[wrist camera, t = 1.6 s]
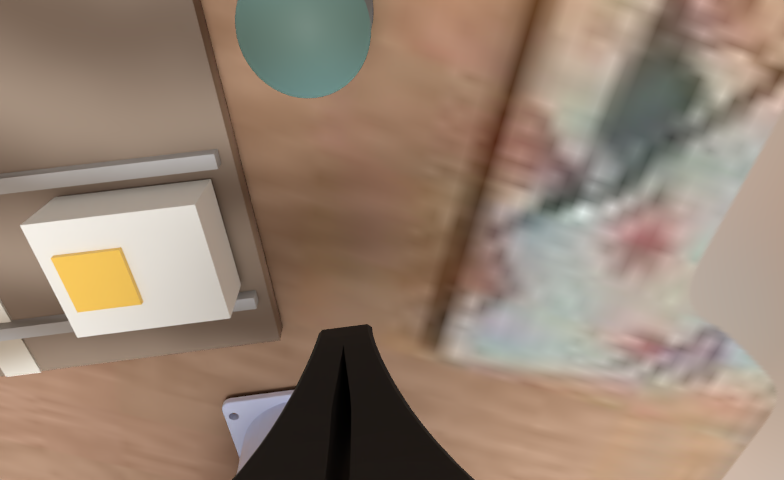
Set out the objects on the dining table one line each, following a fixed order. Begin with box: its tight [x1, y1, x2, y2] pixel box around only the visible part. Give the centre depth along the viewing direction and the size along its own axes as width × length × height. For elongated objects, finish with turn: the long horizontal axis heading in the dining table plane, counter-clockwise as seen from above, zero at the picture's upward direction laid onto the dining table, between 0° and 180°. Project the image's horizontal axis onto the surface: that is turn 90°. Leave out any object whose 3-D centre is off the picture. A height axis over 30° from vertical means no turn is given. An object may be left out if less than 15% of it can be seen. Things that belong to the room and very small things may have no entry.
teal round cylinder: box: [235, 0, 373, 98], centre depth 15 cm, size 4×4×7 cm
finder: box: [20, 179, 241, 338], centre depth 19 cm, size 5×6×3 cm
